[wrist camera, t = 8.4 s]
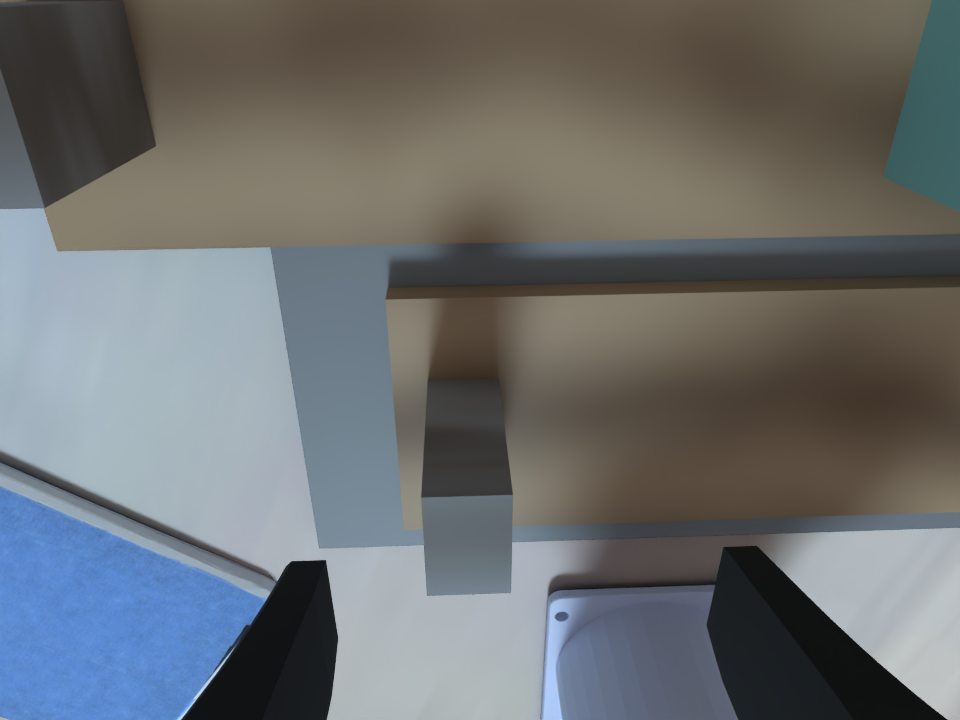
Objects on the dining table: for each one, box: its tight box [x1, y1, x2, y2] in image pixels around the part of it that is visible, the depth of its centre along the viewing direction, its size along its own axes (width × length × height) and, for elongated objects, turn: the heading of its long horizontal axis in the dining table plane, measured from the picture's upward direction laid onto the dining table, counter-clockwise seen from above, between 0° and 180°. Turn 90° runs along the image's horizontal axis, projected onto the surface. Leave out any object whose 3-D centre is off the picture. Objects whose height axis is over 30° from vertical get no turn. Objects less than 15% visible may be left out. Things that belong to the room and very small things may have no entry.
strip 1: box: [0, 0, 960, 251], centre depth 14 cm, size 8×28×6 cm, turn 90°
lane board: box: [271, 234, 960, 548], centre depth 19 cm, size 20×34×1 cm, turn 90°
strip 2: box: [385, 276, 960, 596], centre depth 19 cm, size 8×28×6 cm, turn 90°
